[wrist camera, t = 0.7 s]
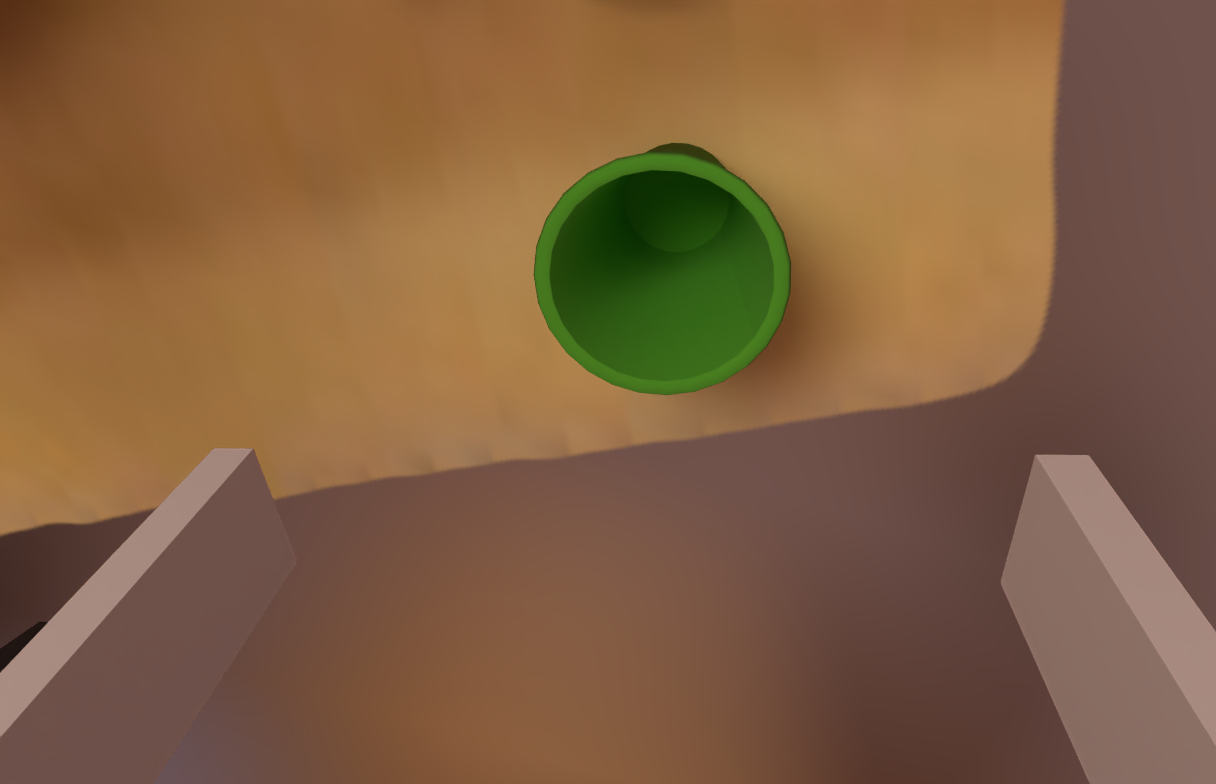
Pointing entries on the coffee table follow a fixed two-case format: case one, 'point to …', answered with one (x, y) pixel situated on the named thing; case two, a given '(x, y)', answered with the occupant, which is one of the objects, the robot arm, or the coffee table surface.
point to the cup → (662, 271)
